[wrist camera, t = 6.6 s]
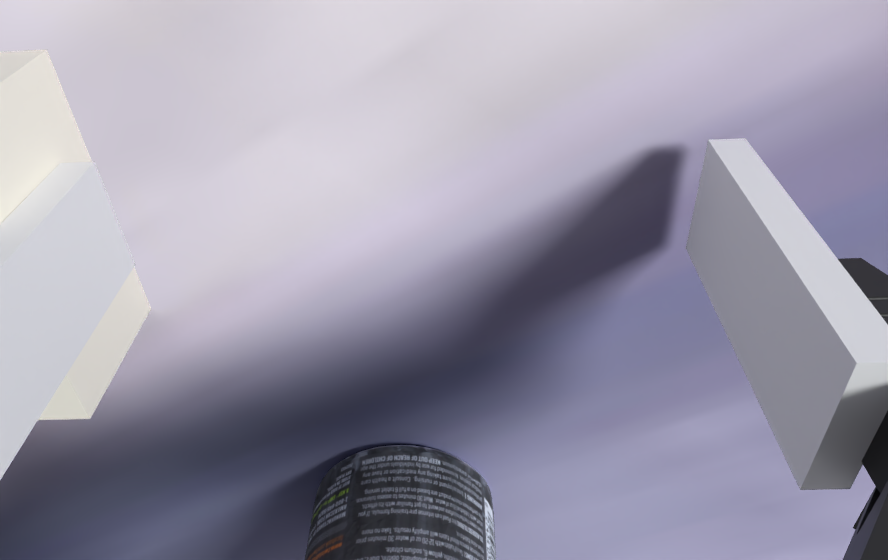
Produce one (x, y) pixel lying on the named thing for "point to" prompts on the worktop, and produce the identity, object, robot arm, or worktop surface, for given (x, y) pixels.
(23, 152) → the cream block
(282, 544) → the worktop surface
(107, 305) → the robot arm
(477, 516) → the pill bottle
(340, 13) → the worktop surface
